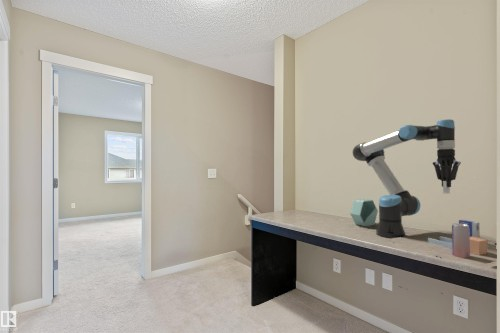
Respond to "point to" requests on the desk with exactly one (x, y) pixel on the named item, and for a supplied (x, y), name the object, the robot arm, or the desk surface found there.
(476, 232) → the walkman
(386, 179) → the robot arm
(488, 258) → the desk surface
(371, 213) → the teal faceted polyhedron
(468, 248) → the beverage can
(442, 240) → the chute
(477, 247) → the block
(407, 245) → the desk surface
